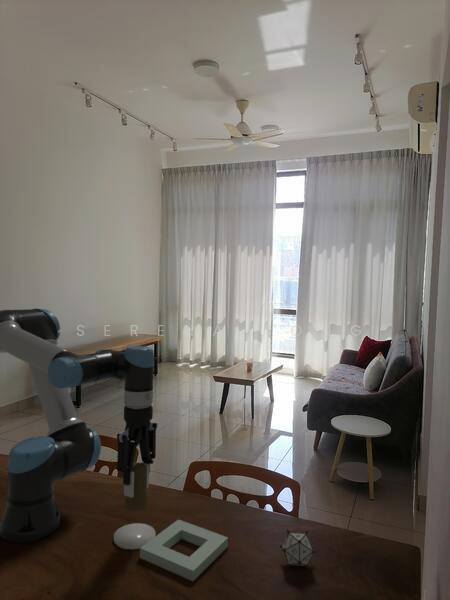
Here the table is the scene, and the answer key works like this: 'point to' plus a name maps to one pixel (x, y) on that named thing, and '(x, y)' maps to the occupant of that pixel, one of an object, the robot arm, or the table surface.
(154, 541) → the frame
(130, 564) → the table surface
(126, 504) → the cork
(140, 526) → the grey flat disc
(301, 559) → the game die
